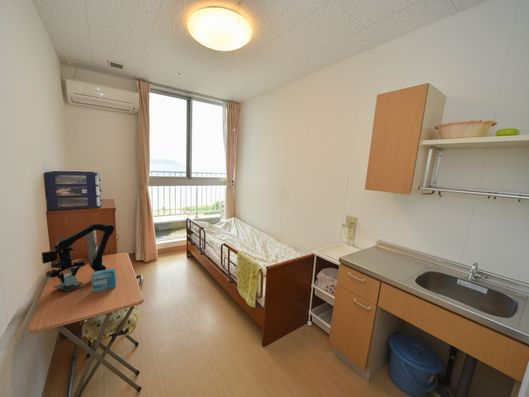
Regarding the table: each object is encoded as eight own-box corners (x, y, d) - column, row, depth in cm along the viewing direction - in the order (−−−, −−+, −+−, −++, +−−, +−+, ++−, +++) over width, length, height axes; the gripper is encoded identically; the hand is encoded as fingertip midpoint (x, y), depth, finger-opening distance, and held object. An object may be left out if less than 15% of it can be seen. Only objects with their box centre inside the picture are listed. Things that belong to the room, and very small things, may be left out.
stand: (83, 286, 145) (82, 282, 144) (67, 293, 136) (67, 289, 136) (70, 282, 149) (69, 279, 148) (54, 289, 140) (53, 286, 140)
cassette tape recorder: (97, 259, 187) (94, 231, 183) (88, 260, 184) (85, 232, 180) (99, 253, 199) (96, 227, 195) (90, 255, 195) (87, 228, 192)
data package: (92, 292, 137) (90, 275, 135) (94, 289, 141) (92, 272, 139) (115, 287, 143) (114, 270, 141) (116, 284, 147) (114, 267, 145)
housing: (69, 278, 146) (68, 273, 146) (76, 282, 142) (76, 276, 141) (60, 282, 142) (59, 276, 141) (67, 286, 137) (66, 280, 137)
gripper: (73, 251, 151) (75, 272, 153) (38, 262, 133) (42, 286, 135) (84, 253, 147) (86, 274, 150) (50, 265, 130) (53, 289, 132)
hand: (68, 280), depth 142 cm, fingers closed on housing, 5 cm apart
